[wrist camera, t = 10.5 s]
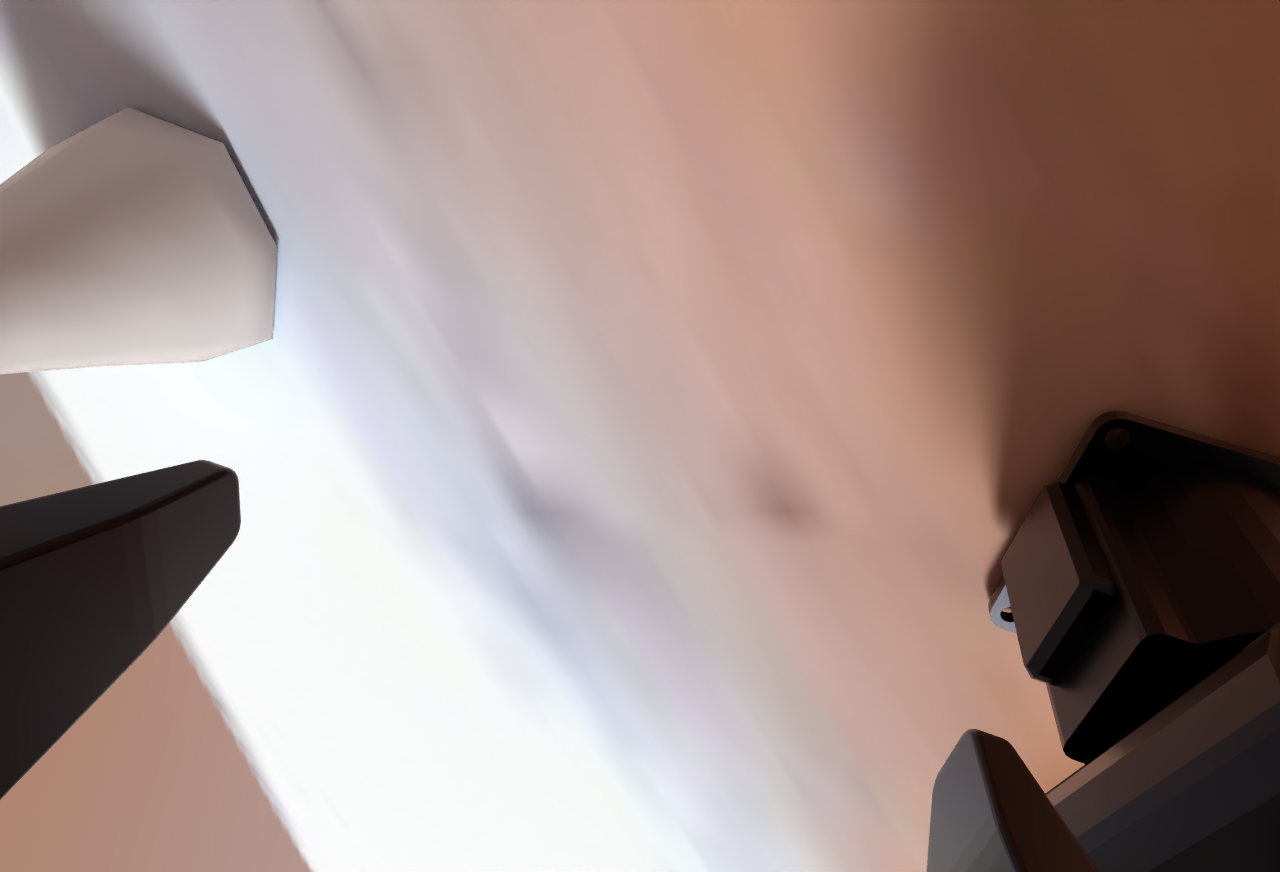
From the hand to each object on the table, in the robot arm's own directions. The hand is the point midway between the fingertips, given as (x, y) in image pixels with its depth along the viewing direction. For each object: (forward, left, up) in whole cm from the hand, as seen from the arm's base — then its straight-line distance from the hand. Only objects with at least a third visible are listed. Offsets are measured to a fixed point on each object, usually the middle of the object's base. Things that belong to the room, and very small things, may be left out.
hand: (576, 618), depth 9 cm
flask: (+16, +3, -12) cm, 20 cm away
